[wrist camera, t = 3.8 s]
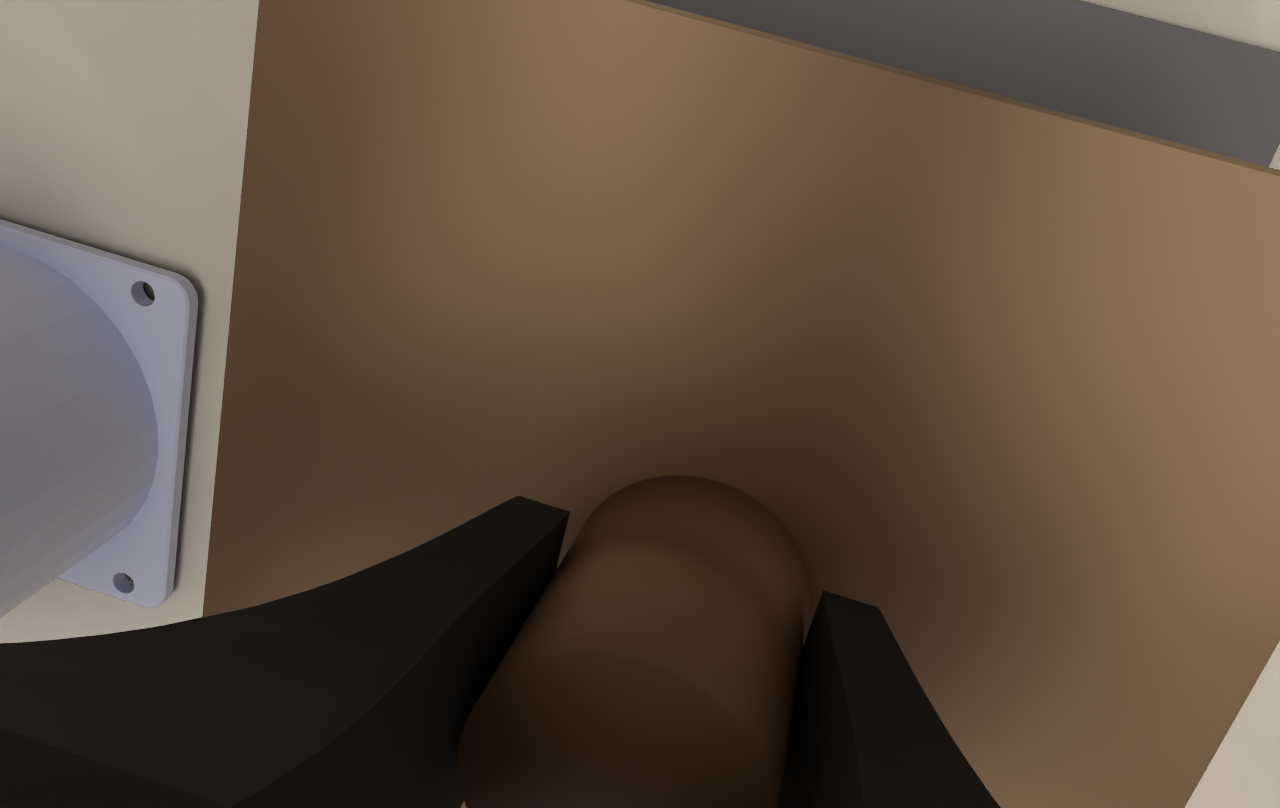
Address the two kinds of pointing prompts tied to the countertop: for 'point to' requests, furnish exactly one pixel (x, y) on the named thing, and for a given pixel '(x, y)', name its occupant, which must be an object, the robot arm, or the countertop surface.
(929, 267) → the lid
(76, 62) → the countertop surface
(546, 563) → the robot arm
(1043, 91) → the mat
